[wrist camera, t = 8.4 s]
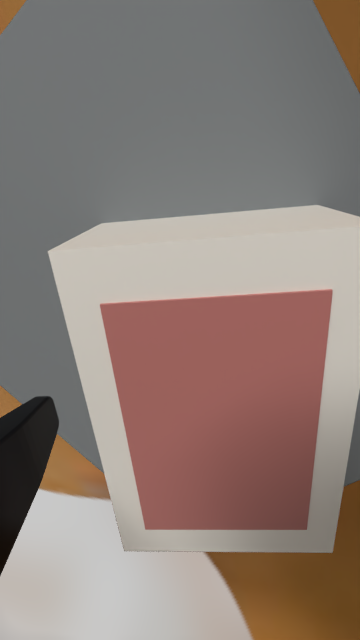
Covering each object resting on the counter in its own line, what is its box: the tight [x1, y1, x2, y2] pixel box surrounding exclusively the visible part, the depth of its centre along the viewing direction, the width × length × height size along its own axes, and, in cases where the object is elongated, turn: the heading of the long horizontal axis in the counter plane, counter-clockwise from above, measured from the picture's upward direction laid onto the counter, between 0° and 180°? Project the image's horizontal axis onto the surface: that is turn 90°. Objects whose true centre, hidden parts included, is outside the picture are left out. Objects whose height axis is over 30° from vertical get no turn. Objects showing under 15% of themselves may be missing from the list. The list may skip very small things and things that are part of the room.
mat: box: [0, 0, 360, 486], centre depth 11 cm, size 18×14×1 cm
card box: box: [48, 205, 360, 553], centre depth 9 cm, size 6×9×4 cm, turn 5°
